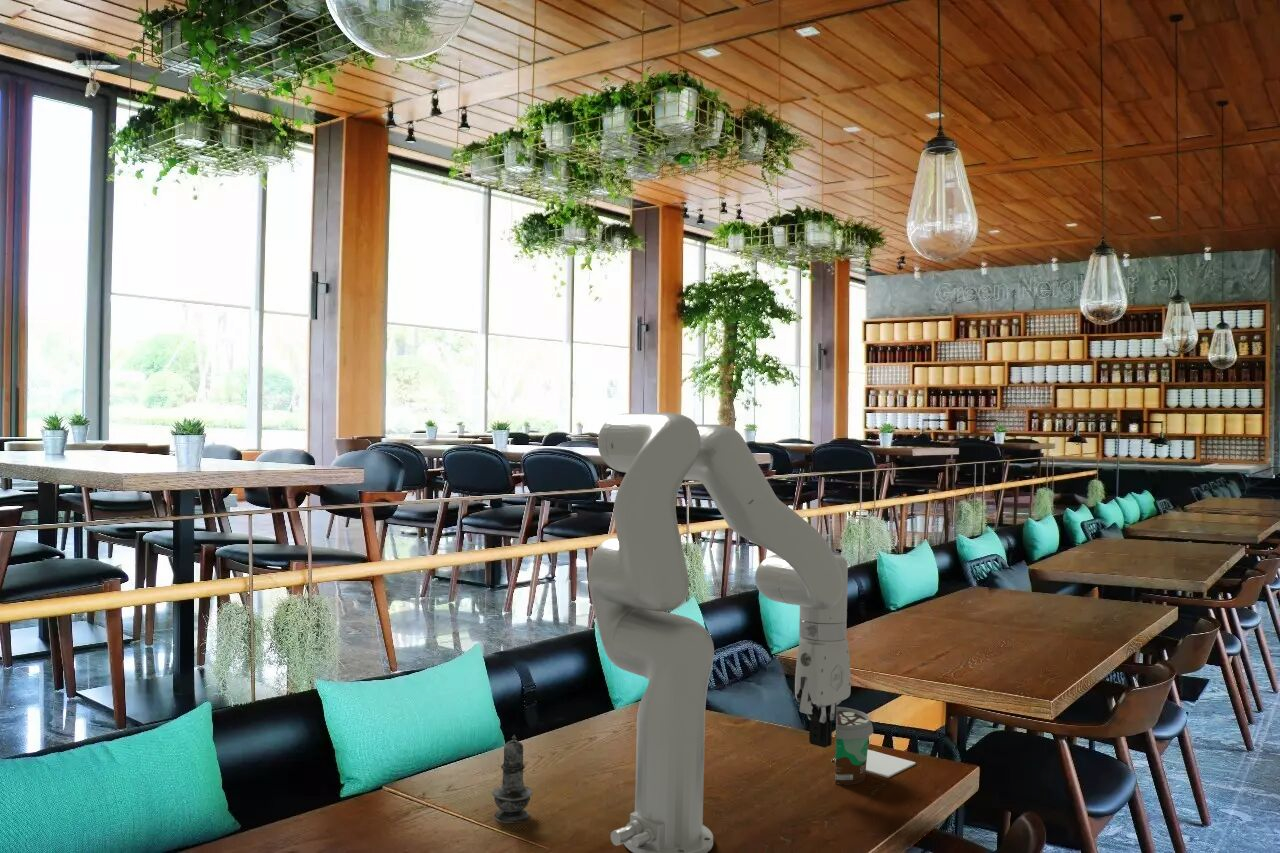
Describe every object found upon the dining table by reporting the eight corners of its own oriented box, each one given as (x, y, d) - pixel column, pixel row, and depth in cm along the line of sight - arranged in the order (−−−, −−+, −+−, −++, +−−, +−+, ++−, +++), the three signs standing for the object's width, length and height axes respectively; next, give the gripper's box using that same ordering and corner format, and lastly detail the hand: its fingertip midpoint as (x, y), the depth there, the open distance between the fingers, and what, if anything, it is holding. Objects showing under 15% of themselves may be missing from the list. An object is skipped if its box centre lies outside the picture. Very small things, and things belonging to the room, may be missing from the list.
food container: (873, 791, 153) (875, 729, 153) (835, 787, 154) (836, 726, 154) (870, 765, 165) (872, 708, 165) (835, 762, 166) (836, 705, 166)
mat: (887, 777, 159) (887, 776, 159) (831, 761, 167) (831, 759, 167) (915, 764, 166) (915, 762, 166) (860, 749, 174) (860, 747, 174)
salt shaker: (512, 805, 143) (515, 726, 143) (540, 816, 139) (542, 734, 140) (483, 816, 138) (485, 735, 139) (510, 828, 135) (513, 744, 135)
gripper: (817, 641, 144) (814, 761, 144) (867, 628, 155) (864, 740, 155) (776, 633, 149) (774, 749, 149) (827, 621, 160) (825, 729, 160)
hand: (820, 744), depth 152 cm, fingers closed
